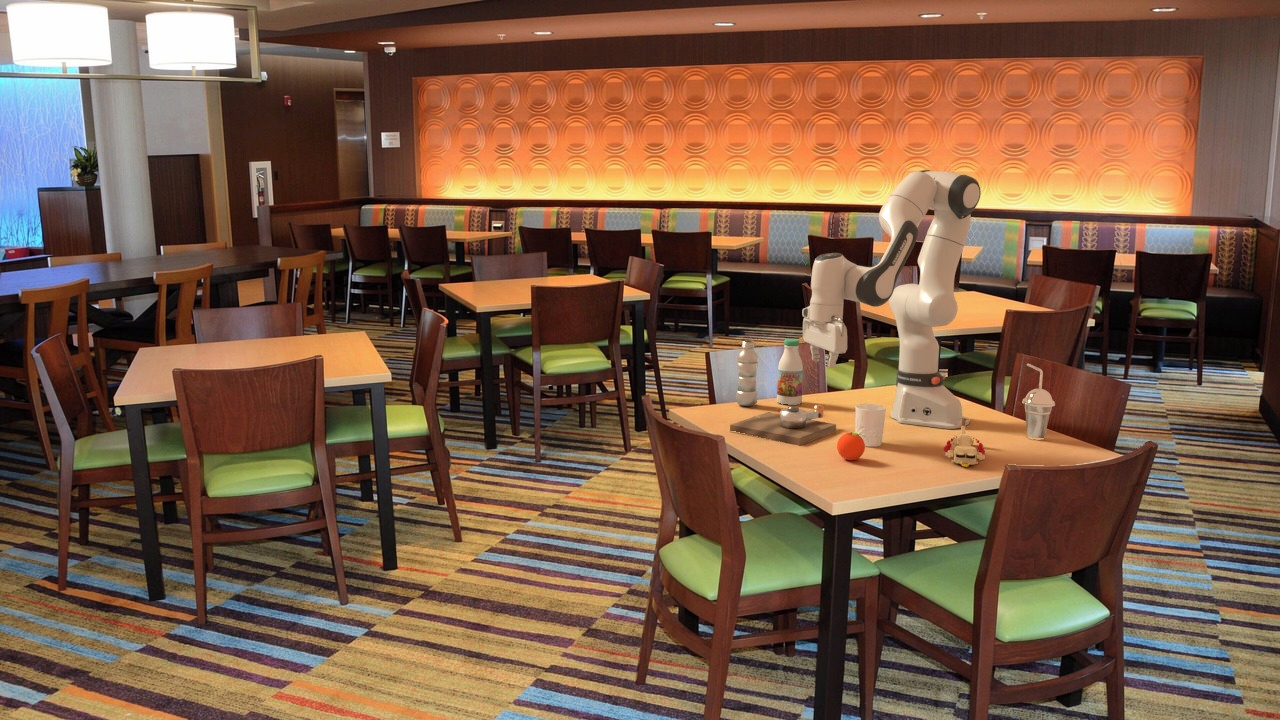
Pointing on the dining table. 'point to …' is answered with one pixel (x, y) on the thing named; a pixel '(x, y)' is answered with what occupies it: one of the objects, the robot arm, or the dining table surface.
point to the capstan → (799, 416)
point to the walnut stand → (782, 429)
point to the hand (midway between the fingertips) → (823, 364)
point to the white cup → (870, 423)
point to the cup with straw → (1037, 409)
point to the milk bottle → (790, 374)
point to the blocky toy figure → (964, 448)
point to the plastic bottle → (747, 375)
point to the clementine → (851, 446)
